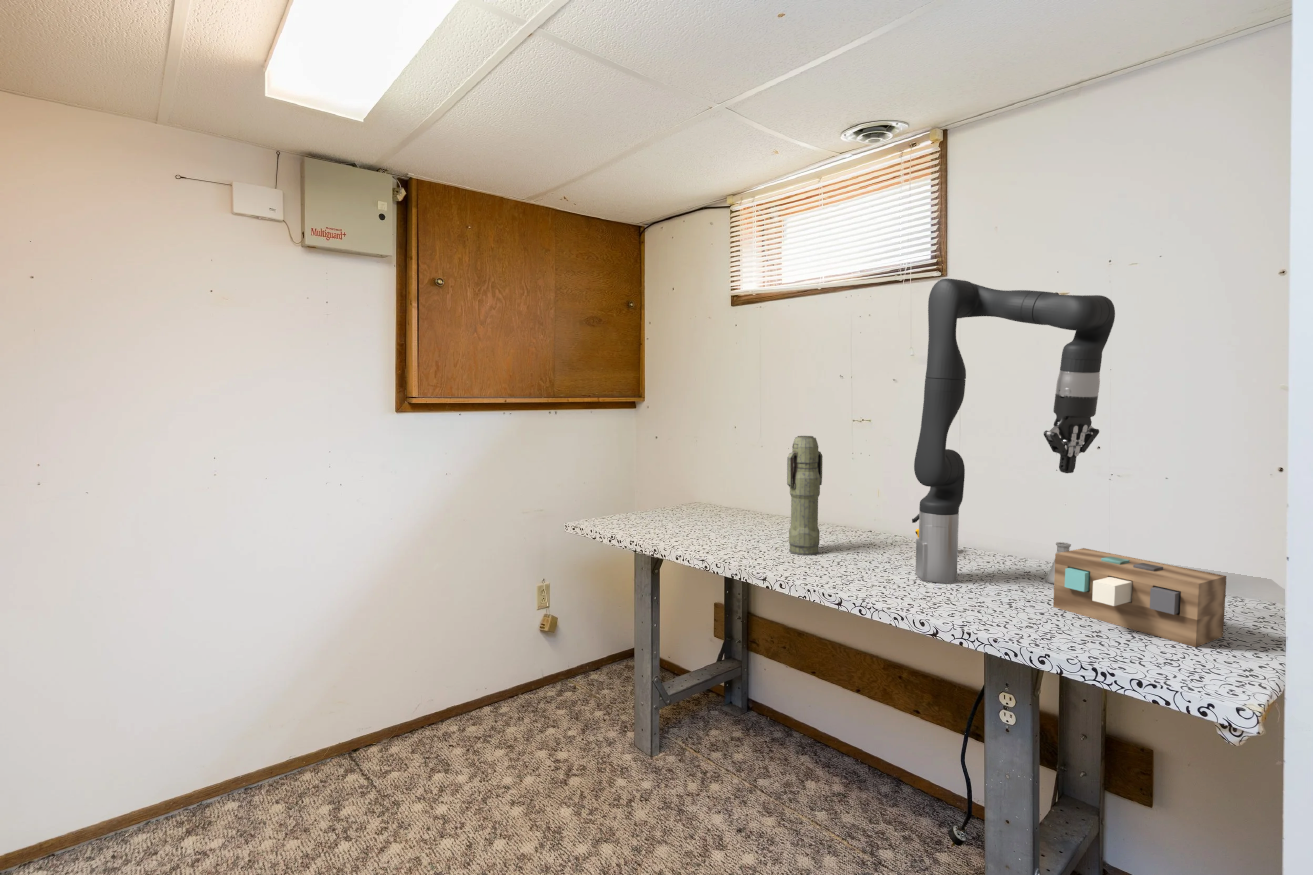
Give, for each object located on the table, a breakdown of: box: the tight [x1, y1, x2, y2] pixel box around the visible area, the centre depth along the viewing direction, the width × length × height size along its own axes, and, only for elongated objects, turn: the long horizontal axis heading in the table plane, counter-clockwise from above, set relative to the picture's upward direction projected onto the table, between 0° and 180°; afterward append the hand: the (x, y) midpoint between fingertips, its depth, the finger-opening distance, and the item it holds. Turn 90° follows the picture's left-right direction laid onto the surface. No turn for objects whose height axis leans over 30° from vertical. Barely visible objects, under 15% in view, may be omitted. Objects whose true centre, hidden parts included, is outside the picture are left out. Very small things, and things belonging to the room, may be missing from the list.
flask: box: [1044, 541, 1072, 584], centre depth 160 cm, size 7×7×10 cm
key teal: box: [1065, 567, 1090, 592], centre depth 138 cm, size 10×4×4 cm, turn 118°
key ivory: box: [1092, 576, 1133, 606], centre depth 129 cm, size 10×4×4 cm, turn 118°
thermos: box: [786, 435, 823, 556], centre depth 191 cm, size 9×12×35 cm
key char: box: [1150, 586, 1181, 614], centre depth 124 cm, size 10×4×4 cm, turn 118°
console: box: [1052, 547, 1227, 648], centre depth 132 cm, size 11×26×12 cm, turn 28°
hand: (1066, 472), depth 138 cm, fingers closed
